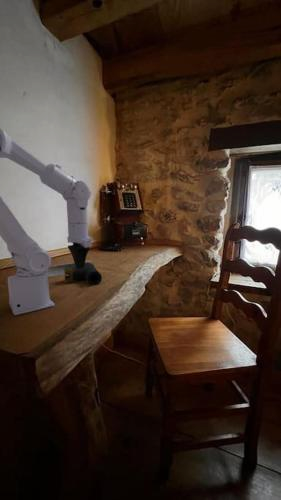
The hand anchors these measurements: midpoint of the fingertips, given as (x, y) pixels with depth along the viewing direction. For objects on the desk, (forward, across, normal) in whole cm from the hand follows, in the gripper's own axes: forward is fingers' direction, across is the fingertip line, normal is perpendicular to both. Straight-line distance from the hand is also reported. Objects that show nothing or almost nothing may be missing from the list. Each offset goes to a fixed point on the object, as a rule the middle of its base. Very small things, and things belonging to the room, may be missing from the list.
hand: (80, 268), depth 70 cm
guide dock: (+7, +22, -4) cm, 24 cm away
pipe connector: (+8, +12, -5) cm, 15 cm away
